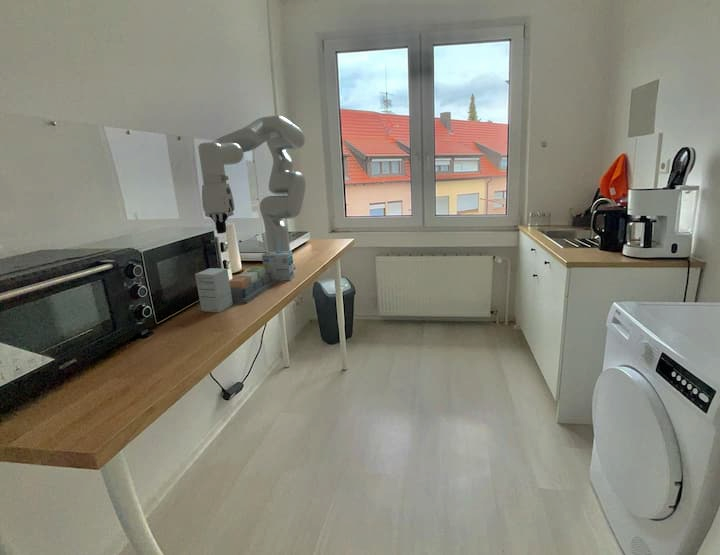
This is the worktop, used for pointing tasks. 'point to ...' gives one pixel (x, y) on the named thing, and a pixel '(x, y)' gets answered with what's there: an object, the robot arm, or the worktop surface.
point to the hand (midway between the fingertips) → (221, 232)
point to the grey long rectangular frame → (252, 289)
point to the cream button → (250, 276)
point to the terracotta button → (239, 282)
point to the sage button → (258, 271)
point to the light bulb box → (279, 265)
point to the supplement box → (214, 289)
